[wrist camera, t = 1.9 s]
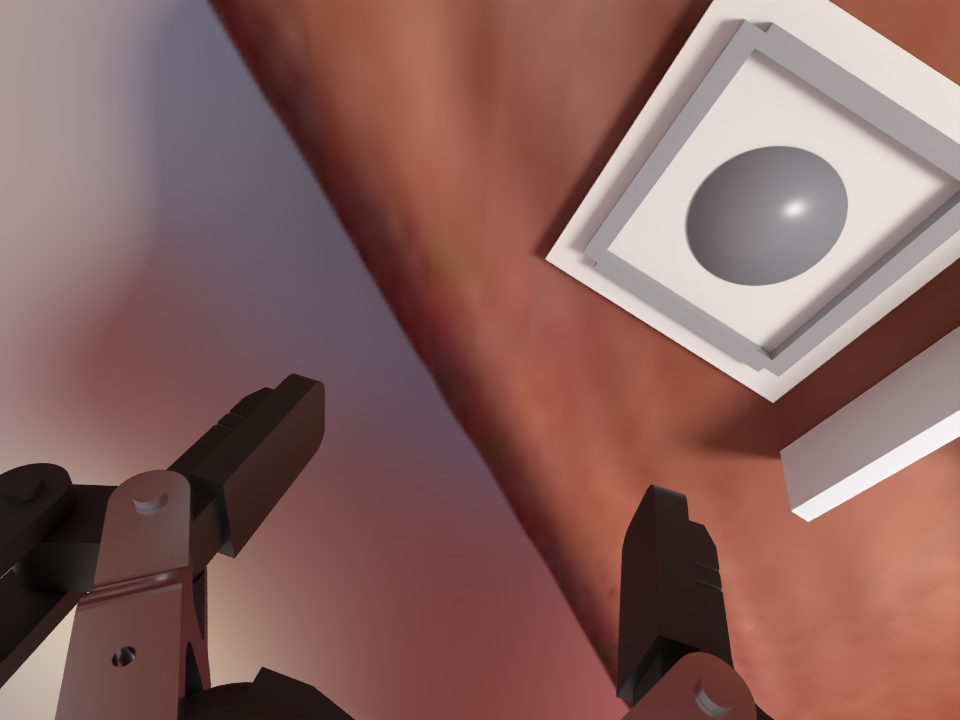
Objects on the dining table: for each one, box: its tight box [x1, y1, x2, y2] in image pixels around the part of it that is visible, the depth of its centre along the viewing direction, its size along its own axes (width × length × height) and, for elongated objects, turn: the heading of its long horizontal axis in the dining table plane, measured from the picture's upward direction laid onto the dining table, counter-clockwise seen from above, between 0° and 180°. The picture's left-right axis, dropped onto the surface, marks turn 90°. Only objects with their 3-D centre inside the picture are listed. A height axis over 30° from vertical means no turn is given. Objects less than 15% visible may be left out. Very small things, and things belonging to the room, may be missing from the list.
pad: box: [546, 0, 960, 403], centre depth 26 cm, size 16×16×2 cm
